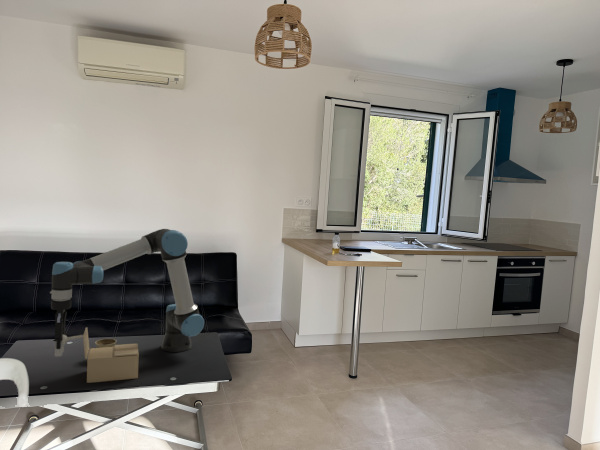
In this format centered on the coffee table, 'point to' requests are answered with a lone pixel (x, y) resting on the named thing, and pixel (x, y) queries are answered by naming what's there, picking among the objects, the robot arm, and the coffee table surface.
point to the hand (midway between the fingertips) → (59, 353)
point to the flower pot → (105, 343)
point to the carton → (113, 363)
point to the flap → (85, 340)
